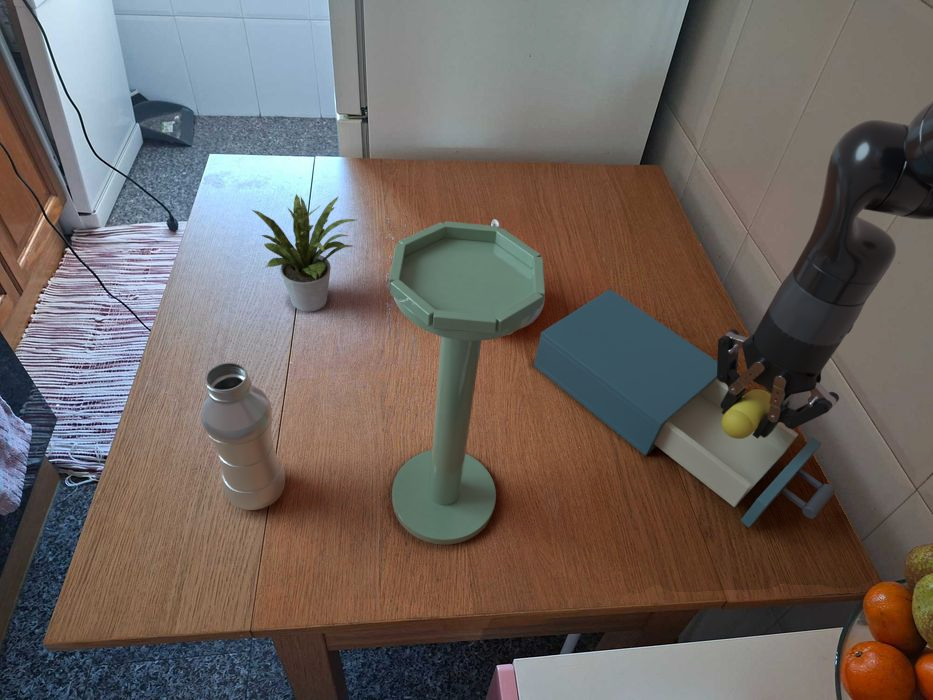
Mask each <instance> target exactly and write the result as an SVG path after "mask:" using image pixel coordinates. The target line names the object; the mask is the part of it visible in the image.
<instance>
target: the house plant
mask: <svg viewBox="0 0 933 700" xmlns="http://www.w3.org/2000/svg"><path fill="white" fill-rule="evenodd" d="M338 198H339V196H336V197H335V198H334V199H333V200H331V201H330V202H329V203H328V204H327V205H326V206H325V207H324V209H323V210H322V213H321V214H320V216H319V218H318V220H317V221H316V223H315V225H314V224H310V216H311V215H312V214H313V213H314V212H315V211H316V210H318V209H320V207H321V206H322V205H321V204H320V205H319V206H317V207H315V209H313V210H311V211H310V212H308V208H307V205H306V203H305V200H304V199H303V198H302V196H300V197H299V195H298V193H296V194H295V196H294V201H293V211H292V209H290V208H289V206H288V207H287V210H288V211H289V213H290V215H291V218H292V219H293V220H292V221H293V223H292V225H293V226H292V231H293V234H294V239H295V241H294V242H295V244H294V245H293V244H292V242H291V241H290V240H289V238H288V236H287V235H286V234H285V232H284V231H283V229H282V228H281V227H280V225H279V224H278V223H277V222H276V221H275V220H274V219H272V218H270V217H269V216H267V215H265V214H264V213H263V212H261V211H258V210H254V209H251V211H252V212H253V213H255V214H256V215H257V216H258V217H259V218H260V219H261V220H262V221H263V222H264V223H265V224H266V226H268V228H270V230H271V231H272V234H273V236H274V237H273V236H270V235H268V234H262V235H260V236H261V237H263V238H266V239H269V240H270V241H271V242H267V243H264V244H263V245H264V247H265V248H266V249H267V250H268V251H270V252H272V253H273V254H275V255H278V256H279V257H273V258H272V259H270V260H269V261H268V262H267V264H266V265H265V267H264V269H266V268H272V267H273V268H274V267H278V266H280V267H279V273H280V275H281V277H282V281H283V283H284V285H285V288H286V291H287V295H288V296H289V299H290V302H291V304H292V307H294V308H295V309H297V310H300V311H301V312H307V313H308V312H309V313H310V312H316V311H318V310H320V309H322V308H323V307H325V305H326V304H327V302H328V294H329V287H330V286H329V284H330V278H331V277H330V275H331V268H332V267H331V263H330V261H329V260H328V259H329V258H330V257H332V255H333V254H335V253H337V252H339V251H340V250H343V249H345V248H352V247H353V245H352V244H344V243H343V242H341V241H338V240H337V241H336V239H338V238H340V237H349V235H348V234H343V233H342V234H340V233H339V234H338V233H337V234H335V235H333V236H331V237H330V238H328V240H326V241H325V242H324V244H323V245H322V243H321V241H322V240H323V239H324V238H325V236H326V235H327V234H328V233H329V232H331V231H332V230H333V229H335V228H337V227H338V226H340V225H342V224H346V223H351V222H355V221H357V219H355V218H344V219H339V220H336V221H334V222H332V223H330V224H329V225H328V226H327V227H326V228H324V226H325V225H326V224H327V223H328V220H329V219H328V218H329V216H330V214H331V213H332V211H334V209H335V207H334V205H335V204H336V202H337V201H338ZM312 229H313V232H312V233H311V231H312ZM310 235H311V237H310ZM334 240H335V241H334ZM330 249H332V250H330ZM327 250H330V252H329V253H327V255H326V256H323V255H322V254H323V253H326V251H327Z"/></svg>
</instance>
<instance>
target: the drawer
mask: <svg viewBox="0 0 933 700" xmlns="http://www.w3.org/2000/svg"><path fill="white" fill-rule="evenodd" d="M727 391H728V386H727V385H726V383H725V382H720V381H719V380H718V378H717V379H716V380H715V381H713V382H712V383H711V384H710V385H709V386H708V387H706V388H705V389H704V390H703V391H702V392H701V393H699V394H698V395H697V396H696V397H695V398H694V399H693V400H691V401H690V402H689V403H688V404H687V405H686V406H684V407H683V408H682V409H681V410H680V411H679V412H678V413H676V414H675V415H674V416H673V417H672V418H671V419H669V420H668V421H667V422H666V423H665V424H664V425H663V427H662V429H661V431H660V433H659V435H658V437H657V439H656V441H655V443H654V444H655V445H656V446H657V447H656V448H658V449H659V450H661V451H662V452H663V453H665V454H666V455H667V456H668V457H669V458H671V459H672V460H674V462H676V463H677V464H678V465H680V466H681V467H682V468H683V469H685V470H686V471H687V472H688V473H690V474H692V476H694V477H695V478H696V479H698V480H699V481H700V482H701V483H703V484H704V485H705V486H707V487H708V488H709V489H710V490H711V491H713V492H714V493H715V494H717V496H719V497H720V498H721V499H723V500H724V501H726V503H728V504H729V505H730V506H732V507H733V508H735V507H736V506H737V505H738V504H739V503H741V501H742V500H743V499H744V498H745V497H746V496H747V495H748V494H749V492H751V491H752V489H753V488H754V487H755V486H757V484H758V483H759V482H760V481H761V479H763V478H764V476H766V474H767V473H768V472H769V471H770V470H771V469H772V468H773V466H775V464H777V462H778V461H779V460H780V459H781V458H782V457H783V456H784V454H785V453H786V452H787V451H788V449H789V448H790V447H791V445H792V444H793V443H794V441H795V440H796V438H797V437H798V436H799V433H797V432H796V431H794V429H789V428H787V427H786V426H785V425H784V423H781V422H779V423H778V424H777V425H776V427H775V428H774V430H773V431H772V432H771V433H770V434H769V435H768V436H767V437H765V438H763V437H762V436H760V437H759V438H758V439H757V438H756V437H754V436H753V435H752V434H753V433H754V432H753V433H752V434H751V435H749V436H748V437H746V438H743V439H735V438H732V437H730V436H728V435H727V434H726V433H725V432H724V430H723V428H722V418H723V415H724V414H722V411H723V409H722V408H721V402H722V400H723V399H724V397H725V395H726V393H727ZM821 445H822V442H821V441H819V440H818V439H816V438H815V437H811V438H810V440H809V441H808V442H807V443H806V444H805V445H804V446H803V447H802V448H801V449H800V451H798V453H797V454H796V455H795V456H794V457H793V458H792V459H791V461H790V462H789V463H788V464H787V465H786V466H785V467H784V468H783V470H781V471H780V473H779V474H777V476H776V477H775V478H774V479H773V480H772V482H771V483H770V484H769V485H768V486H767V487H766V488H765V489H764V491H762V493H761V494H760V495H759V496H758V497H757V498H756V499H755V501H754V502H753V503H752V504H751V506H750V508H748V510H747V511H746V512H745V514H744V515H743V517H741V519H740V522H741V523H742V524H743V525H744V526H746V527H747V528H751V526H752V525H753V524H754V523H755V522H756V521H757V520H758V519H759V518H760V516H761V515H762V514H763V513H764V512H765V511H766V510H767V508H769V506H770V505H771V504H772V503H773V502H774V500H775V499H776V498H777V497H778V496H779V495H780V494H782V495H783V496H784V497H785V498H787V499H788V500H789V501H790V502H792V503H794V504H795V505H796V506H798V507H799V508H800V509H801V512H802V514H803V516H805V517H806V518H807V519H810V520H811V519H815V518H816V517H817V516H818V515H819V513H820V512H821V511H822V510H823V508H824V507H825V506H826V505H827V504H828V503H829V501H830V500H831V498H832V497H833V496H834V494H835V493H836V489H835V488H834V487H833V486H832V485H831V484H830V483H822V482H820V481H818V480H817V479H816V478H815V477H813V476H812V475H811V474H809V473H808V472H806V471H805V470H804V469H803V468H804V467H805V465H806V464H807V462H808V461H810V459H811V457H812V456H813V455H814V454H815V452H817V450H818V449H819V448H820V446H821ZM796 475H798V476H799V477H800V478H801V479H803V480H804V481H806V482H807V483H809V484H810V485H812V487H814V488H815V489H817V490H816V491H815V493H814V494H813V495H812V496H811V498H810V499H809V500H808V501H807V502H805V501H804V500H803V499H802V498H800V497H799V496H797V495H796V494H795V493H793V492H792V491H791V490H789V489H788V488H786V487H787V486H788V484H789V483H790V482H791V481H792V480H793V479H794V477H796Z"/></svg>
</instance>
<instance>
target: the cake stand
mask: <svg viewBox="0 0 933 700" xmlns="http://www.w3.org/2000/svg"><path fill="white" fill-rule="evenodd" d="M388 290H389V291H390V295H391V296H392V297H393V299H394V302H395V304H396V306H397V308H398V309H399V310H400V312H401V313H402V314H403V315H404V317H406V318H407V319H408V320H409V321H410V322H411V323H412V324H414V325H415V326H417V327H418V328H420V329H422V330H424V331H426V332H429V333H430V334H433V335H436V336H439V350H438V364H437V375H436V377H437V378H436V389H435V390H436V391H435V402H434V403H435V405H434V416H433V429H432V430H433V431H432V444H431V449H430V450H426V451H423V452H420V453H418V454H416V455H414V456H413V457H411V458H410V459H408V460H407V461H406V462H405V463H404V464H403V465H402V466H401V467H400V469H399V470H398V471H397V473H396V475H395V477H394V480H393V483H392V488H391V489H392V490H391V502H392V508H393V511H394V514H395V516H396V519H397V520H398V522H399V523H400V525H401V526H402V527H403V528H404V529H405V530H406V531H407V532H408V533H409V534H411V536H413V537H415V538H417V539H418V540H421V541H424V542H426V543H429V544H434V545H445V546H448V545H457V544H460V543H464V542H467V541H468V540H470V539H472V538H474V537H476V536H477V535H478V534H480V533H481V532H482V531H483V530H484V529H485V528H486V526H487V525H488V524H489V522H490V520H491V519H492V516H493V514H494V511H495V506H496V500H497V490H496V485H495V482H494V479H493V477H492V476H491V474H490V472H489V471H488V469H487V468H486V467H485V466H484V465H483V464H482V463H481V462H480V461H479V460H477V459H476V458H475V457H473V456H472V455H469V454H468V453H467V447H468V439H469V431H470V425H471V418H472V411H473V410H472V409H473V403H474V395H475V389H476V381H477V374H478V367H479V361H480V352H481V347H482V346H481V345H482V341H489V340H494V339H499V338H503V337H506V336H509V335H508V334H510V335H512V334H513V333H515V332H517V331H518V330H521V329H522V328H521V327H523V326H524V325H525V324H526V323H527V322H529V321H530V320H531V318H532V317H533V316H534V314H535V312H536V310H538V309H539V308H541V305H542V304H543V301H544V302H545V300H544V296H546V285H545V269H544V257H543V256H541V253H540V252H538V251H536V250H535V249H534V248H532V247H531V246H529V245H528V244H526V243H525V242H523V240H521V239H519V238H517V236H515V235H513V234H512V233H511V232H509V231H507V230H506V229H504V228H503V227H500V229H499V230H498V226H491V225H488V224H477V223H467V222H457V221H447V220H445V221H444V223H443V222H442V221H439V222H438V223H436V224H435V223H434V224H433V225H431V226H429V227H426V228H424V229H422V230H420V231H418V232H415V233H413V234H411V235H409V236H407V237H404V238H402V239H400V240H398V243H395V248H394V252H393V258H392V263H391V267H390V272H389V277H388ZM520 328H521V329H520ZM523 328H524V327H523ZM511 333H512V334H511Z"/></svg>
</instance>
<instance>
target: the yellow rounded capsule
mask: <svg viewBox="0 0 933 700" xmlns="http://www.w3.org/2000/svg"><path fill="white" fill-rule="evenodd" d="M770 398H771V393H770V392H769V391H767V390H764V389H761V388H760V389H759V388H757V389H756V388H755V389H751V390H749V391H748V392H747V393H746V392H745V393H744V395H743V397H742V398H741V399H740V400H739V401H738V402H737V403H736V404H734V405H733V406H732V407H731V408H730V409H729V410H728V411H727V412H726V413H725V414H724V415H723V418H722V428H723V430H724V432H725V433H726V434H727V435H728V436H730V437H732V438H735V439H743V438H746V437H748V436H749V435H751V434H752V433H753V432H754V431H755V430H756V429H757V427H758V425H759V424H760V422H761V420H762V419H763V417H764V416H765V415H766V414H767V413H768V412H769V408H770V404H769V401H770Z"/></svg>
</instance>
